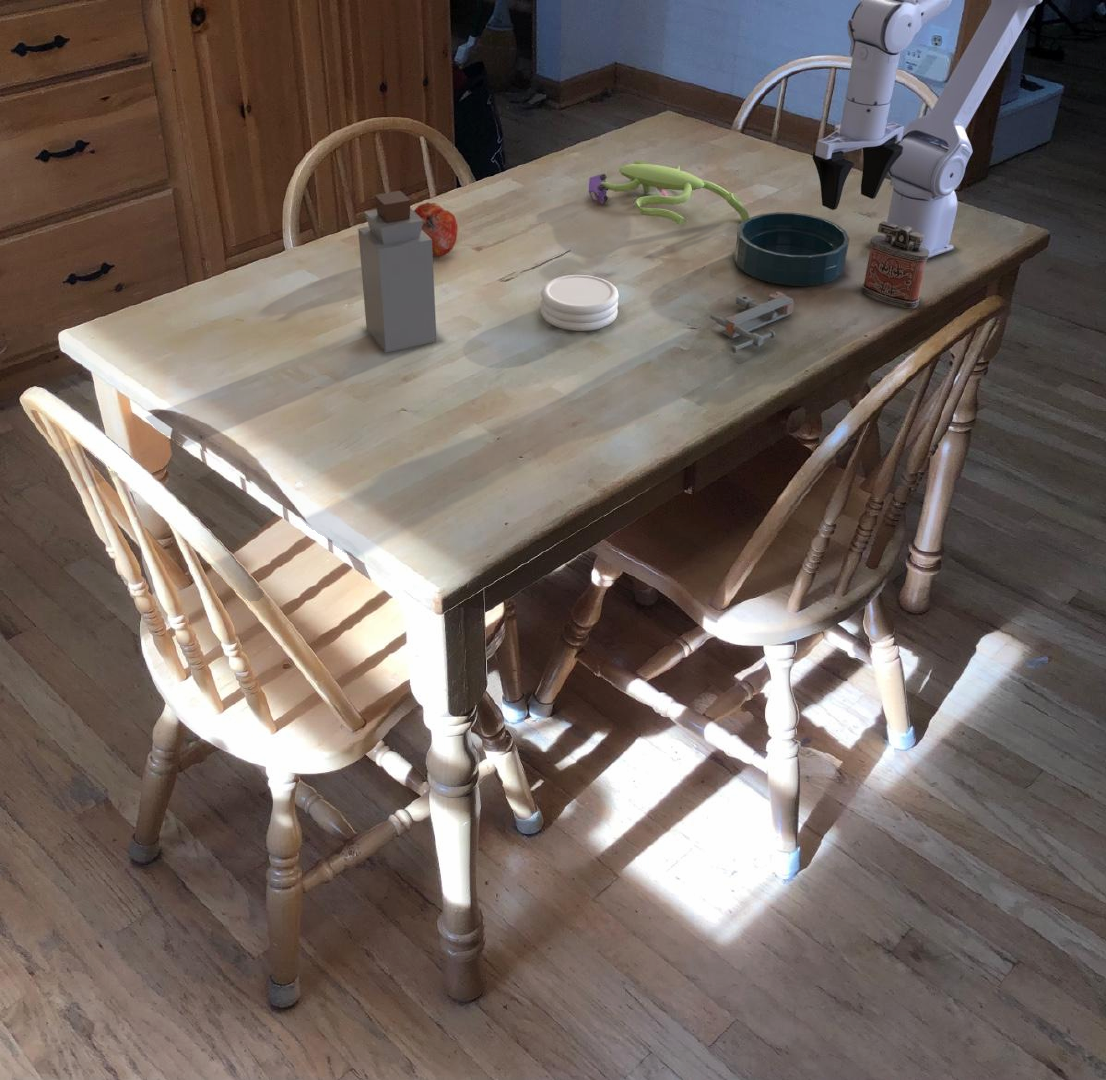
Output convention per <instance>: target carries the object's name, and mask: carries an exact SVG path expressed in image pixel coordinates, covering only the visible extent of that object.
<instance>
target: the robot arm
mask: <svg viewBox="0 0 1106 1080" xmlns="http://www.w3.org/2000/svg"><path fill="white" fill-rule="evenodd" d="M952 1H953V0H860V1H859V2H858V3H857V4H856V6H855V8H854V9H853V11H852V13H851V16H850V19H848V20H847V35H848V37H849V40H850V46H849V53H850V57H851V64H850V70H849V74H848V81H847V86H846V93H845V98H844V104H843V110H842V115H841V120H840V124H836V125H835V126H834V132H832V133H830V134H828V135H827V136H826V137H824V138H820V139H818V140H817V142H816V148H815V149H814V150H813V151H812V160H813V163H814V165H815V168H816V172H817V174H818V177H819V178H818V179H819V185H820V194H821V196H820V197H821V205H822V207H825V208H828V209H829V210H831V211H835V210H838V209H837V208H838V207H839V204H840V201H841V198H842V194H843V190H844V187H845V183H846V181H847V178H848V176H849V174H850V172H851V171H852V169H853V167H854V166H855V162H853V161H850V160H848V159H846V156H844V154H845V153H848V152H853V151H855V150H860V149H862V161H863V162H862V174H861V182H860V195H862V196H864V197H866V198H868V199H871V200H874V199H876V197H877V195H878V194H879V192H880V189H881V187H882V185H883V183H884V180H885V179H886V177H887V176H888V177H890V181H889V185H890V186H892V193H891V199H890V205H889V209H888V215H887V220H886V222H888V223H891V224H895V225H898V227H901V228H904V227H905V226H910V227H911V228H912V229H913V231H914V232H918V233H921V234H923V235H924V236H923V241H922V243H921V246H920V247H922V248H925V249H927V250H928V251H929V257H928V259H929V258H932V257H935V256H938V255H941V254H945V253H947V252H949V251H952V250H954V247H955V246H954V245H953V244H950V241H951V238H952V237H951V236H952V233H953V228H954V224H955V221H956V220H955V219H956V216H957V210H958V197H957V193H956V192H955V190H956V189H957V188H958V187H959V185H960V184H961V182H962V181H963V178H964V176H965V173H966V167H967V165H968V162H969V160H970V158H971V156H972V154H973V153H974V152H973V147H972V144H971V141H970V139H969V137H968V135H967V132H966V129H967V128H968V126H969V124H970V122H971V120H972V119H973V117H974V115H975V113H976V112H977V110H978V109H979V107H980V105H981V103H982V102H983V100H984V98H985V96H986V94H987V92H988V91H989V89H990V88H991V86H992V84H993V82H994V81H995V78H996V77H997V75H998V73H999V71H1000V70H1001V68H1002V66H1003V65H1004V63H1005V61H1006V59H1007V57H1008V55H1009V54H1010V52H1011V50H1012V49H1013V47H1014V45H1015V43H1016V42H1017V40H1018V38H1019V36H1020V34H1021V33H1022V31H1023V29H1024V28H1025V26H1026V24H1027V23H1028V20H1029V19H1030V17H1031V16H1032V14H1033V12H1034V10H1035V8H1036V6H1037V5H1039V4H1041V3H1042V2H1043V0H991V3H990V6H989V8H988V9H987V11H986V12H985V15H984V17H983V18H982V20H981V22H980V24H979V26H978V27H977V28H976V30H975V33H974V34H973V36H972V38H971V39H970V41H969V43H968V45H967V46H966V49H965V50H964V51H963V52H964V53H963V54H962V55H961V57H960V59H959V61H958V62H957V64H956V66H955V68H954V70H953V71H952V73H951V75H950V76H949V79H948V81H947V83H946V84H945V86H944V88H943V89H942V92H941V93H940V95H939V97H938V99H937V100H936V102H935V103H934V106H933V107H932V109H931V111H930V113H927V114H925V115H923V116H919V117H917V118H915V119H912V120H910V121H909V122H908V123H907V125H906V127H905V126H904V125H901V124H899V123H896V122H893V121H892V122H888V117H889V113H890V108H891V103H892V99H893V98H892V97H893V92H894V87H895V82H896V77H897V72H898V67H899V64H900V63H899V62H900V57H901V53H902V51H905V50H906V49H908V47H909V46H910V45H911V43H912V42H913V39H914V37H915V35H916V34H917V33H918V32H920V29H922V26H923V25H925V24H926V23H928V22H929V21H931V20H932V19H934V18H935V17H937V16H938V15H939V14H941V13H943V12H944V11H945V10H947V9H948V8H949V7H950V6H951V3H952ZM883 236H885V237H886V234H883ZM892 238H894V239H895V237H892Z"/></svg>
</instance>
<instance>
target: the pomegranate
mask: <svg viewBox="0 0 1106 1080" xmlns="http://www.w3.org/2000/svg"><path fill="white" fill-rule="evenodd" d="M413 211H414V212H415V213H416V214H417V215H418V216H420V217H421V218H422V219H423V220H424V221H423V225H422V229H421V230H423V231H424V232H425V233H426V234H427V235H428V236H429V237H430V238H431V239H432V251H433V257H444V256H446V255H447V254H449V253H450V252H451V251H452V250H453V248H454V246H455V244H456V241H457V237H458V230H459V228H458V227H459V225H458V222H457V218H456V217H455V215H454V213H452V212H451V211H450V210H447V209H445V208H443V207H442V206H440V205H439V204H438V203H435V202H425V203H423V204H419V205H417V207H416V208H415V209H414V210H413Z"/></svg>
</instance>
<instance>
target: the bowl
mask: <svg viewBox="0 0 1106 1080" xmlns="http://www.w3.org/2000/svg"><path fill="white" fill-rule="evenodd" d="M849 242H850V237H849V235H848V232H847V230H845V229H844V228H843V227H841V226H840V225H839V224H837V223H835V222H833V221H830V220H829V219H826V218H822V217H819V216H815V215H812V214H806V213H798V212H787V211H786V212H785V211H784V212H782V211H780V212H779V211H776V212H768V213H761V214H757V215H753V216H749V218H748V219H747V220H745V221H742V222H741V223H740V224H739V226H738V228H737V232H736V243H735V251H734V261H735V264H736V266H737V267H738V268H739V269H741V270H742V272H744V273H746V275H749V276H751V277H753V278H754V279H758V280H761V281H764V282H767V283H770V284H777V285H783V286H792V287H793V286H797V287H798V286H799V287H806V286H815V285H822V284H826V283H829V282H831V281H834V280H836V279H837V278H838V277H840V276H841V275H842V274H843V273H844V269H845V265H846V260H847V253H848V249H849Z"/></svg>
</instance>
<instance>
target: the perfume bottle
mask: <svg viewBox="0 0 1106 1080" xmlns="http://www.w3.org/2000/svg"><path fill="white" fill-rule="evenodd" d="M374 201H375V207H376V209H371V210H364V211H363V213H364V217H365V219H366V222H367V224H368V226H364V227H358V228H357V232H358V246H359V255H360V256H359V257H360V267H361V268H360V269H361V279H362V291H363V304H364V315H365V325H366V330H367V332H368V333H369V334H370V335H371V336H372V338H374V341H375V342H377V343H378V345H379V346H380V347H381V349H382V350H383V351H384V352H385V353H389V352H395V351H398V350H399V351H400V350H403V349H404V350H405V349H407V348H413V347H417V346H421V345H426V344H430V343H435V342H438V341H437V322H436V321H437V320H436V300H435V299H436V297H435V277H434V256H433V251H432V239H431V238H430V237H429V236H428V235H427V234H426V233H425V232H424V231H423V230H421V229H422V225H423V221H424V220H423V219H422V218H421V217H420V216H418V215H417V214H416V213H415V212H414V210H413V209H412V208H411V199H410V198H409V197H408V196H407V195H406V194H404V192H402V190H395V191H390V192H384V193H377V194H374Z"/></svg>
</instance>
